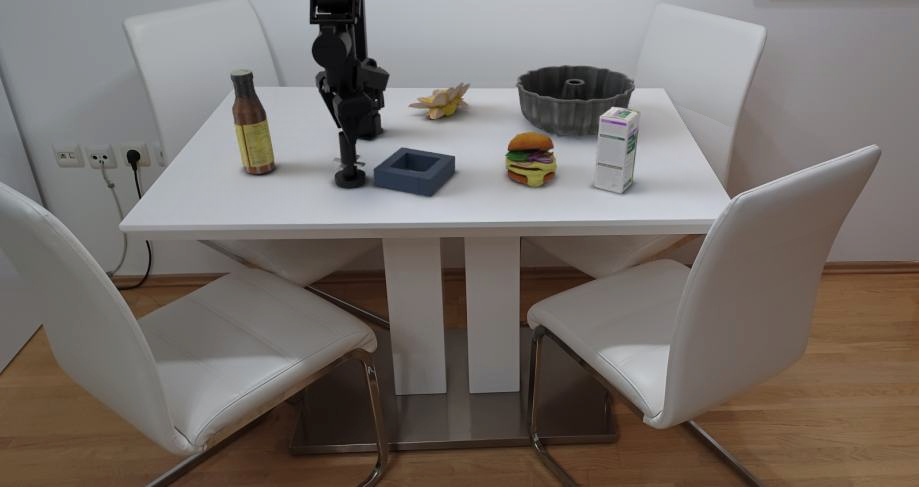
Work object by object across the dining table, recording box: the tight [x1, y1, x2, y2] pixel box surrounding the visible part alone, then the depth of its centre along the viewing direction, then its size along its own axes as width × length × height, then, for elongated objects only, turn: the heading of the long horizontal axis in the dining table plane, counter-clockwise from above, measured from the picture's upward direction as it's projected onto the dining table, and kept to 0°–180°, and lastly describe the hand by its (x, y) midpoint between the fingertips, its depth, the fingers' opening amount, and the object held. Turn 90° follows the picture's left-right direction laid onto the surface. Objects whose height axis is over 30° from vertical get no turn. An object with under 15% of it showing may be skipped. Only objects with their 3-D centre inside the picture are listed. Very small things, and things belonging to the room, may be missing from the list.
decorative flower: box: [407, 82, 471, 120], centre depth 169 cm, size 15×11×10 cm
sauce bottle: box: [229, 68, 275, 175], centre depth 139 cm, size 6×6×20 cm
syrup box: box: [593, 107, 641, 194], centre depth 133 cm, size 6×6×14 cm
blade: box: [332, 130, 367, 189], centre depth 136 cm, size 7×7×10 cm
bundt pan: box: [515, 64, 636, 137], centre depth 163 cm, size 26×26×10 cm
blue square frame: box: [372, 146, 456, 197], centre depth 139 cm, size 12×12×4 cm
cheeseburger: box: [504, 131, 558, 188], centre depth 139 cm, size 10×11×10 cm
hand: (346, 136), depth 134 cm, fingers open, 9 cm apart
